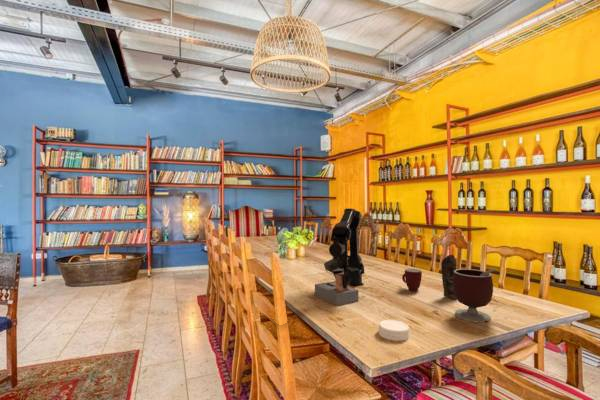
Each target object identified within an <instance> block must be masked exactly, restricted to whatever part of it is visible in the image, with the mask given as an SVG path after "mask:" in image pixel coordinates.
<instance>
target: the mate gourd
mask: <svg viewBox="0 0 600 400" xmlns="http://www.w3.org/2000/svg"><path fill="white" fill-rule="evenodd" d="M493 272H496V269H495V268H494V269H489V270H486V271H485V270H484V271H483V270H479V269H471V268H469V269H468V268H459V269H457V268H456V270H454V274H453V292H454V295H455V297H456V298H457V299H456V300H457V301H458V302H459V303H460V304H463V305H465V306H466V307H468V308H460V309H456V310H455V311H454V315H455V316H456V317H457V318H458V319H461V318H462V319H461V320H463V319H465V320H464V321H467V320H469V321H468V322H471V321H477V322H476V323H486V322H485V321H489V320H490V321H491V320H492V317H491V316H490V315H489V314H488V313H486V312H483V311H481V310H478V308H482V307H486V306H487V305H488V304H489V303H490V302H491V301H492V298H493V294H494V281H493V277H492V273H493ZM490 321H489V322H490Z"/></svg>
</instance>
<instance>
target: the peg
mask: <svg viewBox="0 0 600 400" xmlns="http://www.w3.org/2000/svg"><path fill="white" fill-rule="evenodd" d="M340 274H343V273H339V274H335V276H334V278H335V289H336V290H337V291H339V292H344V291H348V286H349V284H348V285H347V287H346V288H345V289H344V288H343V280H342V276H341V275H340Z"/></svg>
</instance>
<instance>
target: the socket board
mask: <svg viewBox="0 0 600 400" xmlns="http://www.w3.org/2000/svg"><path fill="white" fill-rule="evenodd" d="M314 296H316V297H318V298H321V299H322V300H323V301H327V302H329V303H331V304H332V305H335V306H337V307H338V306H342V305H346V304H351V303H357V302H359V290H358V289H356V288H355V287H351V286H349V285H348V291H344V292H339V291H337V290H336V289H335V281H334V280H333V281H328V282H323V283H322V282H320V283H315V284H314Z"/></svg>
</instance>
